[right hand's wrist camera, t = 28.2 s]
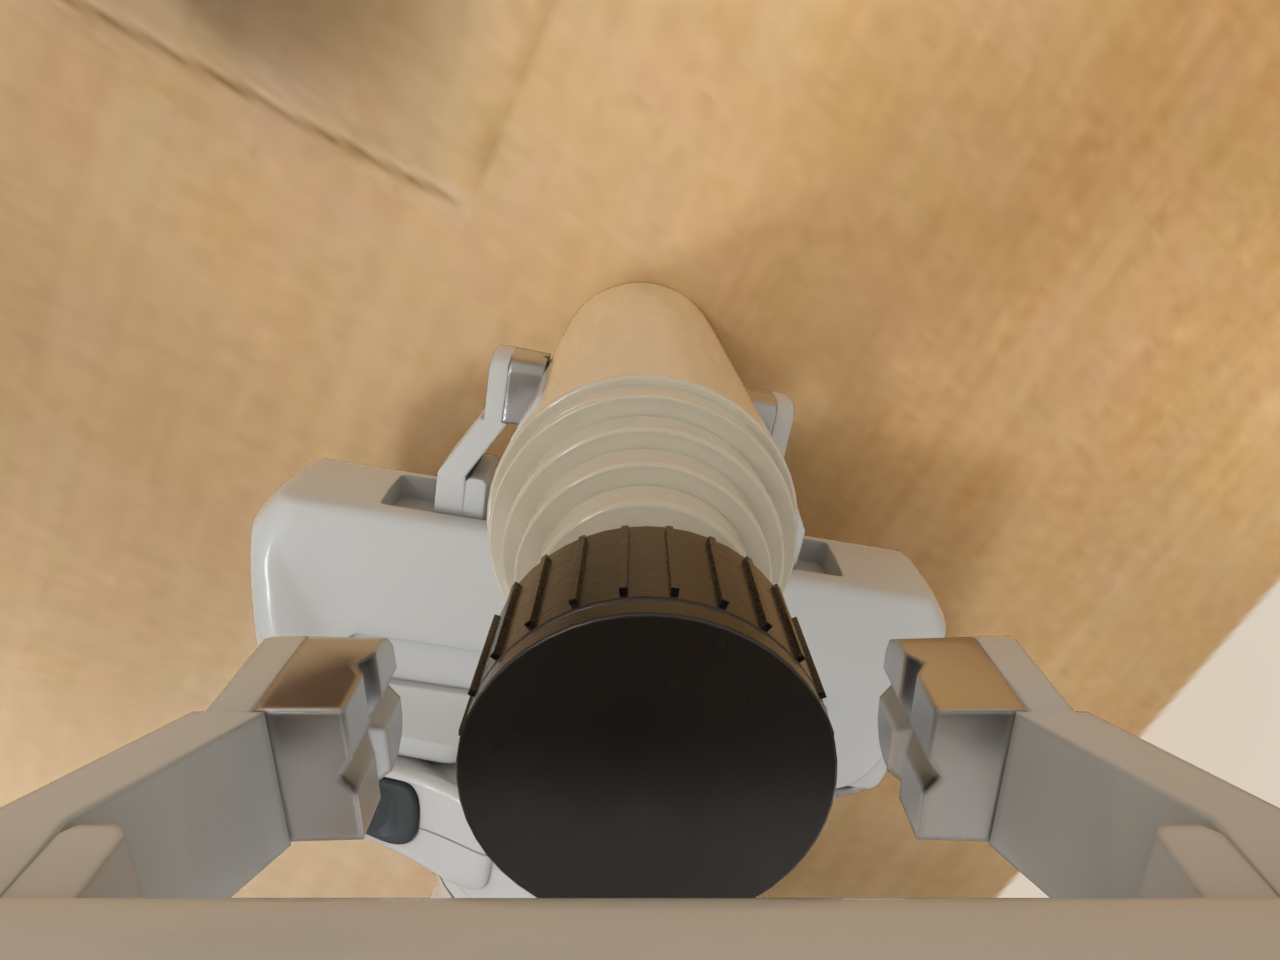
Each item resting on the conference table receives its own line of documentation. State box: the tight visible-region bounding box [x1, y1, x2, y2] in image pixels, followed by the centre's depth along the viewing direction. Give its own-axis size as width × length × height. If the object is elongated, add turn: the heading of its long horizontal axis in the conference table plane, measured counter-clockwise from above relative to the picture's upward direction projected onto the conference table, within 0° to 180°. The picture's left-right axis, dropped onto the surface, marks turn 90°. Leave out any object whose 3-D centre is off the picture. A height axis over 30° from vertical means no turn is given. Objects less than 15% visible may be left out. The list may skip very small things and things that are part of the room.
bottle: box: [487, 283, 798, 601], centre depth 18 cm, size 6×6×20 cm
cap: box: [456, 525, 838, 898], centre depth 9 cm, size 4×4×2 cm
